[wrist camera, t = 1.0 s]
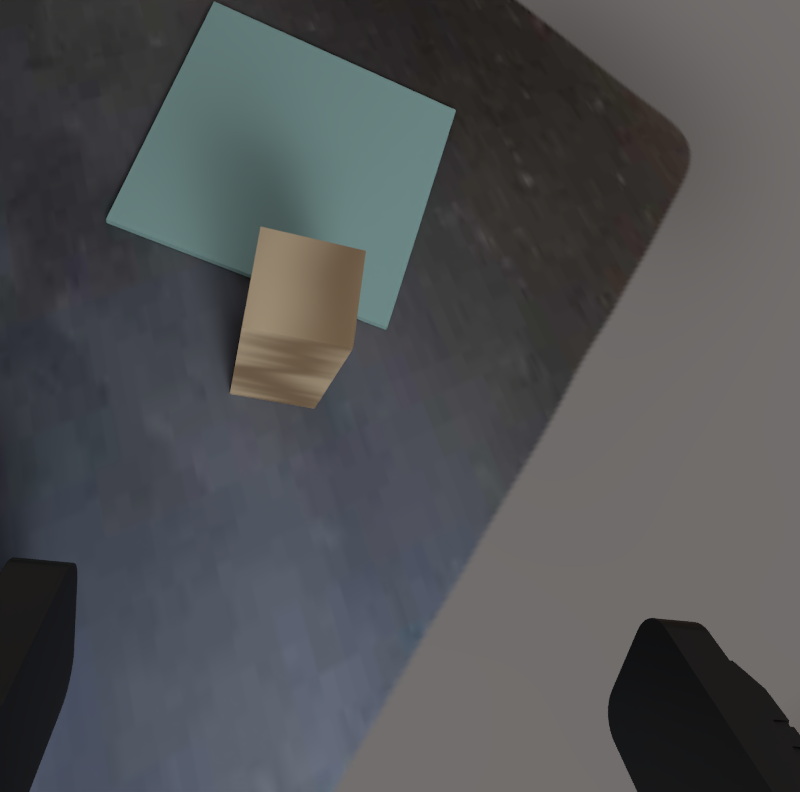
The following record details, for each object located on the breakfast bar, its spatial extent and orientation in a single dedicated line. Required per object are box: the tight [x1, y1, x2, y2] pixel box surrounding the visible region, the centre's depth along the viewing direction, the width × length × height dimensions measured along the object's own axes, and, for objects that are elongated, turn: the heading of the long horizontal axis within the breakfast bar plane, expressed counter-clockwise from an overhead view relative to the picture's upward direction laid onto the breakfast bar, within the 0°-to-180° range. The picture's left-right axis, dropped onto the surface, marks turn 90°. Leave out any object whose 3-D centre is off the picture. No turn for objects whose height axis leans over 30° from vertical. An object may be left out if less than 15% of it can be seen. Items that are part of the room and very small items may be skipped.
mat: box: [106, 2, 456, 330], centre depth 42 cm, size 16×16×1 cm
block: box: [230, 227, 366, 408], centre depth 34 cm, size 4×4×10 cm
